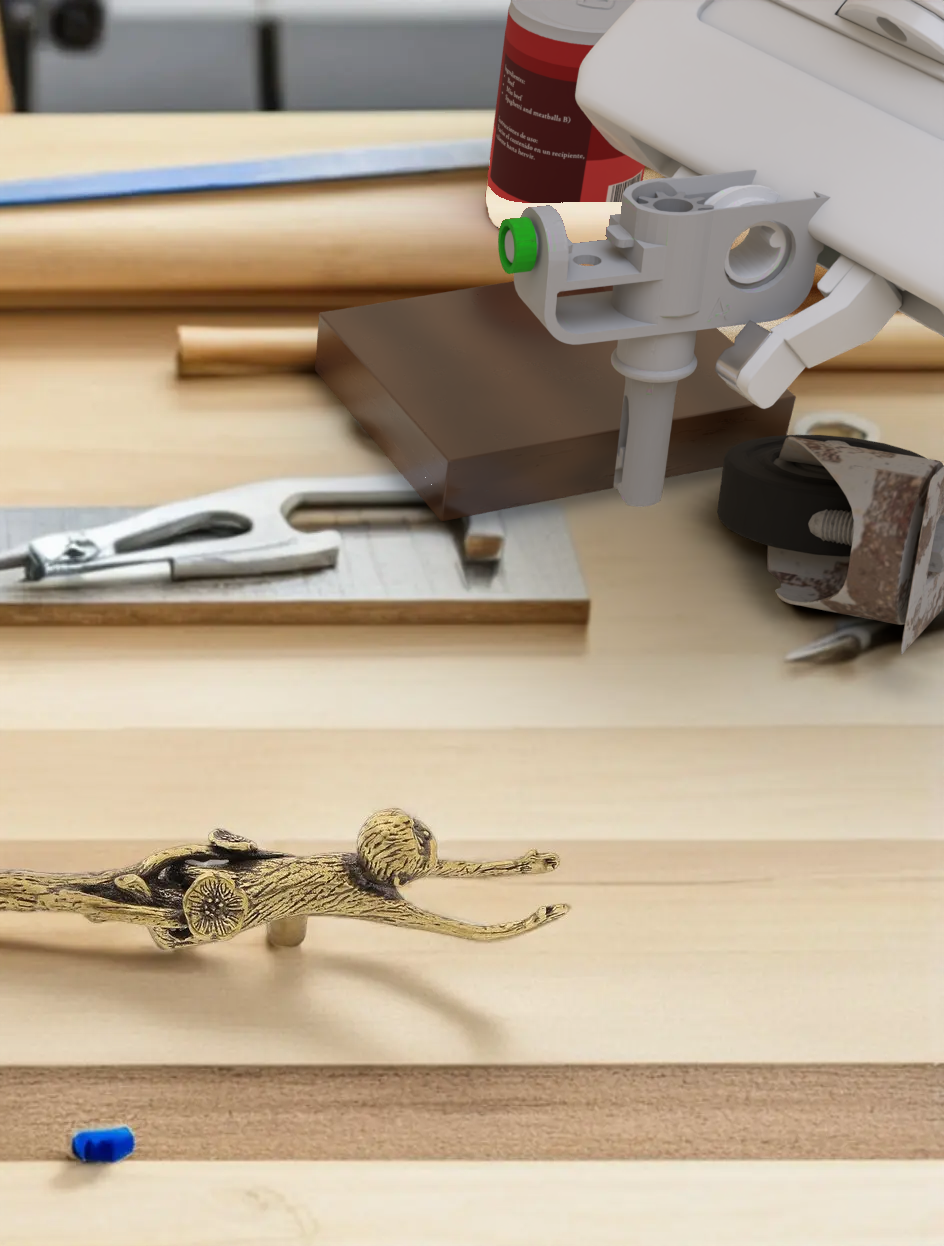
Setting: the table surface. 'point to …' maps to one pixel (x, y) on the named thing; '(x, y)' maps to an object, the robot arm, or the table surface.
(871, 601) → the caster wheel
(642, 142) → the robot arm
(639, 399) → the mechanical component
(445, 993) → the table surface
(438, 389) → the plinth
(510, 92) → the canned food
